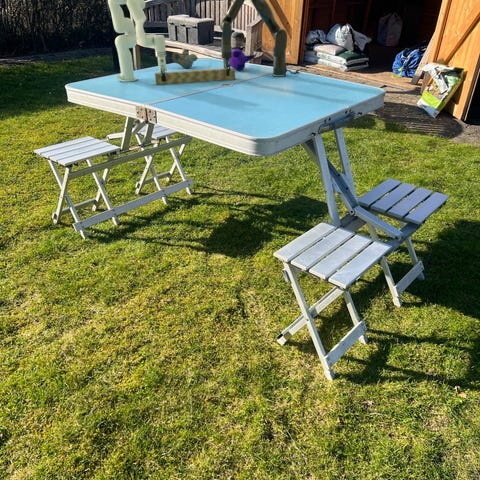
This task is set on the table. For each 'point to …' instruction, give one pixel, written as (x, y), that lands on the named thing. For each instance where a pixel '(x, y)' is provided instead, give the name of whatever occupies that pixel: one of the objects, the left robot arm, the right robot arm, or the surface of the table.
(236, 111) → the table surface
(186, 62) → the teapot
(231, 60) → the toy
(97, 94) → the table surface
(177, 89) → the table surface
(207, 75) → the bar
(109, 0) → the left robot arm
